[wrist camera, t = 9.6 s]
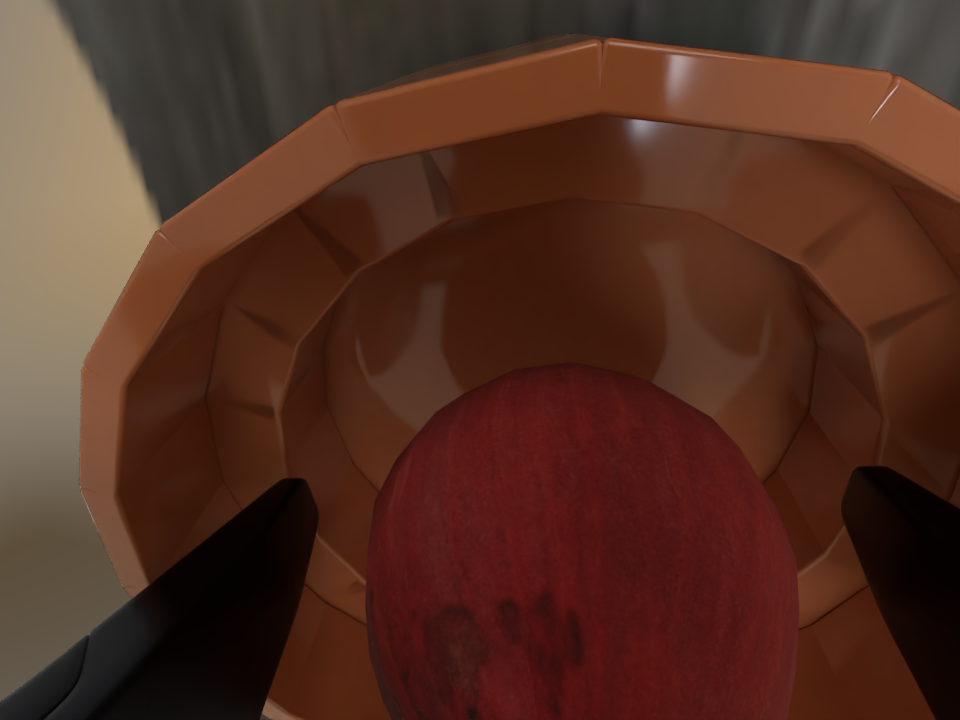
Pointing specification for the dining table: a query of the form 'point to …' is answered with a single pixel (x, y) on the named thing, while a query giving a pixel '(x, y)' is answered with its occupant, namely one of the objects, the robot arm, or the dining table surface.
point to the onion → (579, 561)
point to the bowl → (548, 315)
